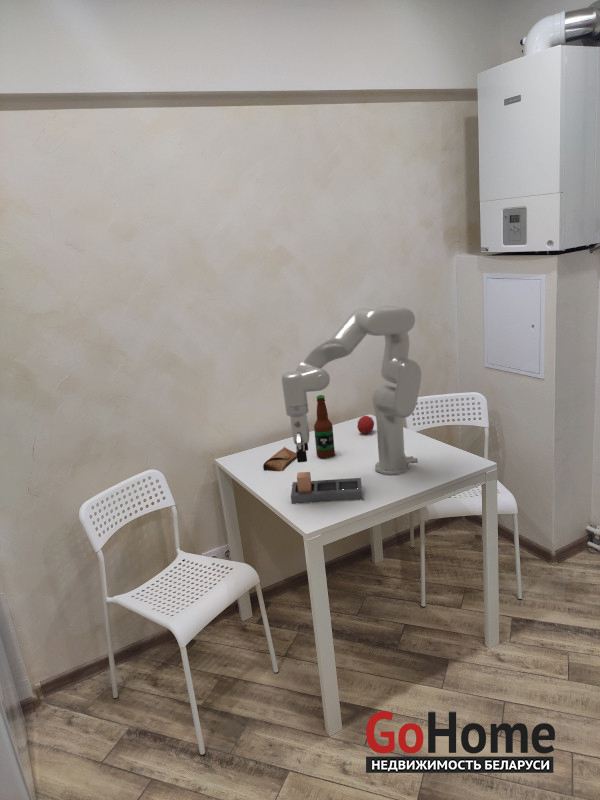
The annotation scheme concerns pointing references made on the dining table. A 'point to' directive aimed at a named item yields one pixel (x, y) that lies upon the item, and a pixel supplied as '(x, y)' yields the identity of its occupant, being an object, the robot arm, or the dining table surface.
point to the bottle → (323, 431)
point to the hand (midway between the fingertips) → (303, 456)
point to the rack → (329, 491)
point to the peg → (304, 482)
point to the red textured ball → (365, 424)
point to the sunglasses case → (280, 460)
